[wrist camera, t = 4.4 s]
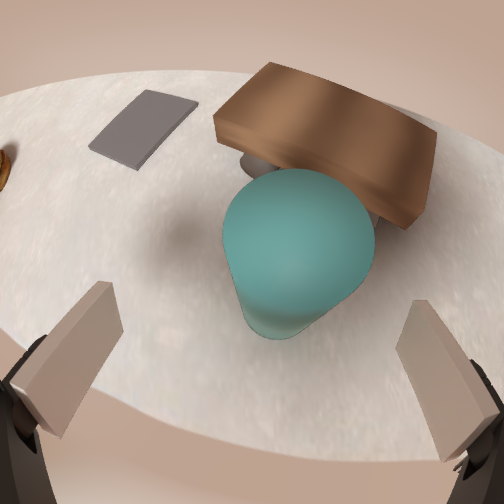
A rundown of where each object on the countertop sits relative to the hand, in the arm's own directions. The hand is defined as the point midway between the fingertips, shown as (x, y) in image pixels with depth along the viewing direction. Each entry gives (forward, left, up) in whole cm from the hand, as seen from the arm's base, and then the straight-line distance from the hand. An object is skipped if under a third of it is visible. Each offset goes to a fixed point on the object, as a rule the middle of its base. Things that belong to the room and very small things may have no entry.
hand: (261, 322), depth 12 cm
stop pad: (+21, -12, -8) cm, 26 cm away
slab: (+2, -16, -8) cm, 18 cm away
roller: (0, -3, -8) cm, 9 cm away
